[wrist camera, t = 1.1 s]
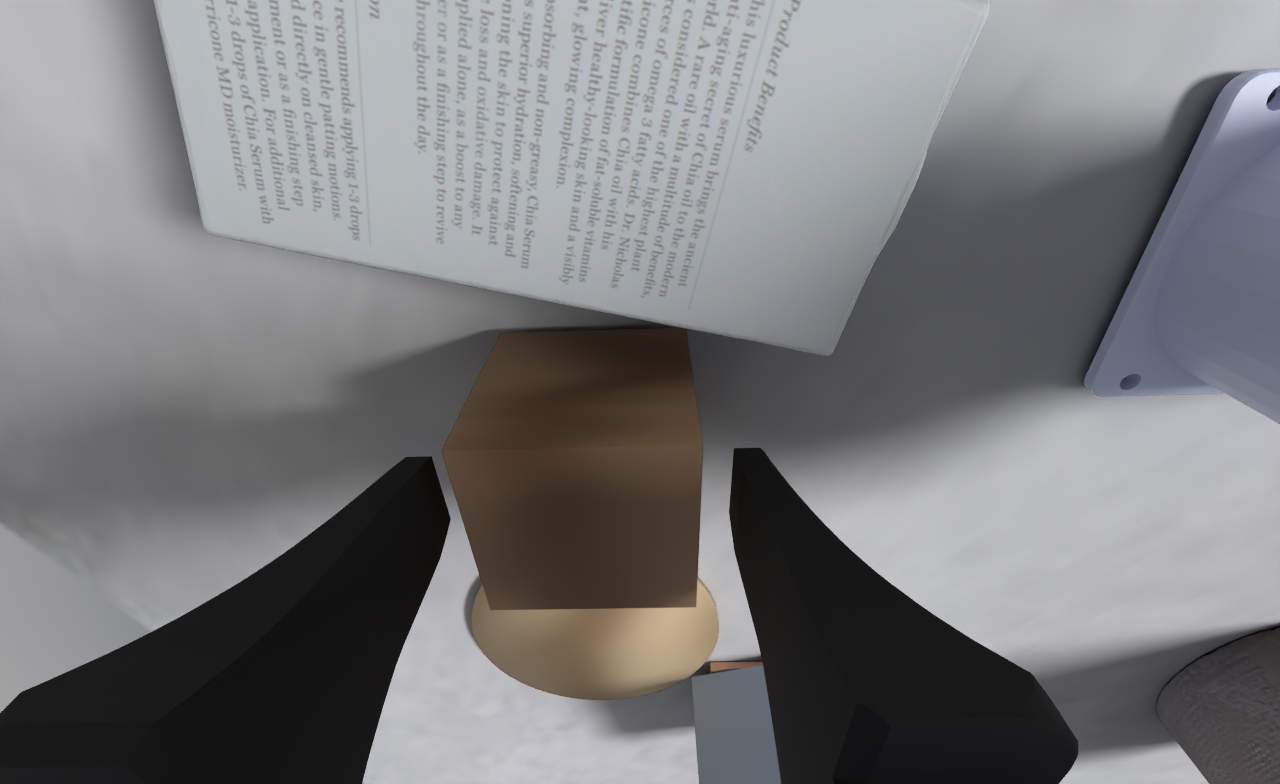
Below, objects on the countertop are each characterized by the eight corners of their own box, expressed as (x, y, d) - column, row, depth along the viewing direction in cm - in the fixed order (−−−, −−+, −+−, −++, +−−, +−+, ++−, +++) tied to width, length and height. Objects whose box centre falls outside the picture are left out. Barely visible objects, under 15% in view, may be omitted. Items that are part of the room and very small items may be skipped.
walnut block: (685, 328, 14) (702, 445, 10) (683, 468, 17) (696, 607, 13) (500, 332, 14) (441, 451, 10) (528, 471, 17) (490, 610, 13)
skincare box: (321, 189, 13) (786, 291, 14) (191, 236, 9) (835, 368, 10) (290, -150, 10) (890, 21, 11) (77, -281, 6) (1012, -5, 7)
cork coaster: (723, 536, 19) (724, 544, 19) (712, 689, 24) (713, 698, 24) (448, 541, 19) (445, 550, 19) (497, 692, 24) (495, 701, 24)
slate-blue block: (806, 658, 22) (844, 798, 18) (820, 718, 25) (857, 853, 20) (691, 676, 23) (701, 815, 19) (716, 733, 25) (730, 866, 21)
